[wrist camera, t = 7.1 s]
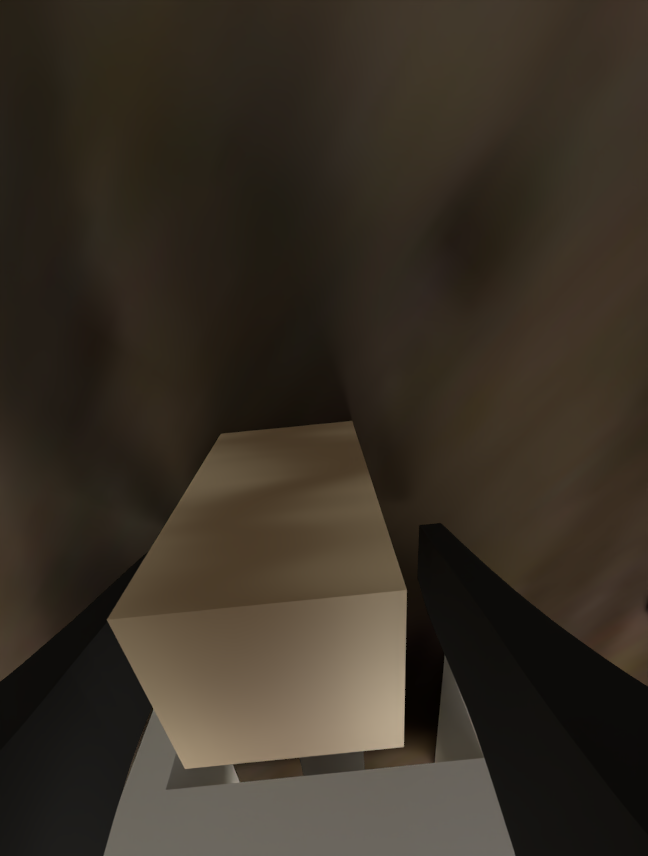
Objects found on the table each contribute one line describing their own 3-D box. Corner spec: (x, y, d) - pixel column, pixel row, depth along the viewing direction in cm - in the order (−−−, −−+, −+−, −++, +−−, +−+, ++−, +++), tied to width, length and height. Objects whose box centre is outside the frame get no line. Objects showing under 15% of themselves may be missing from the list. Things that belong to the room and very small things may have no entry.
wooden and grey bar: (352, 420, 10) (406, 589, 4) (371, 756, 18) (399, 967, 12) (220, 433, 10) (107, 619, 4) (299, 764, 18) (294, 978, 12)
